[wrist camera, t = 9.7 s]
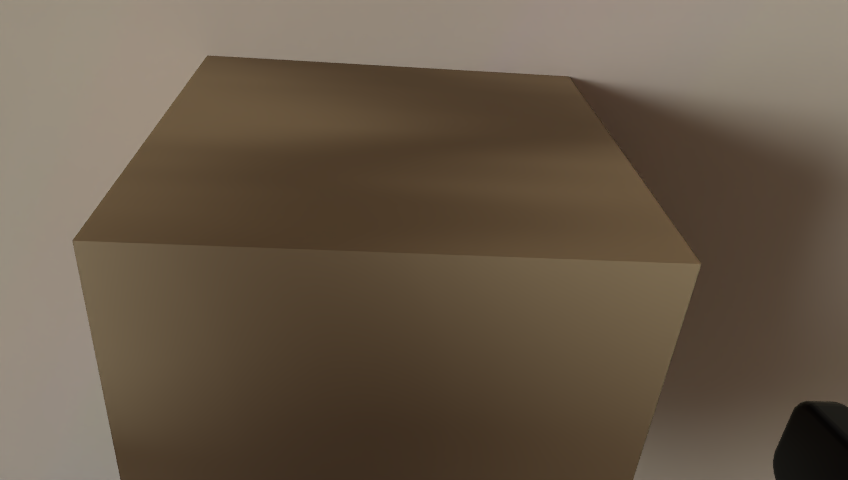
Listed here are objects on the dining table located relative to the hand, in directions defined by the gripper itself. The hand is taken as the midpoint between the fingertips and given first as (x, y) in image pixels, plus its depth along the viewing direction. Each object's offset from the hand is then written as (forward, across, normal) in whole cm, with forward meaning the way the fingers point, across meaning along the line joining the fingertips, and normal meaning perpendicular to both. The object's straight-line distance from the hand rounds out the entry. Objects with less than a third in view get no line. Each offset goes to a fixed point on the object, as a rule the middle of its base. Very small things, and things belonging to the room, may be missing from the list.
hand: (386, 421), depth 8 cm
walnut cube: (+4, 0, 0) cm, 4 cm away
